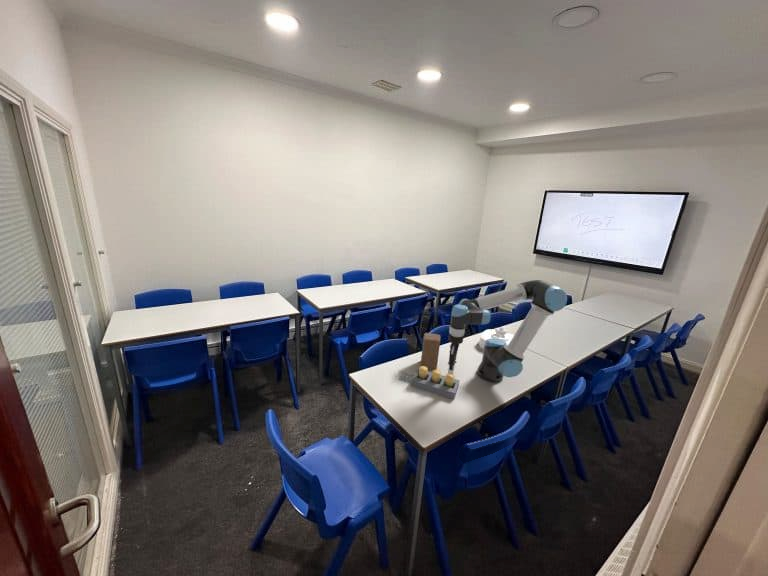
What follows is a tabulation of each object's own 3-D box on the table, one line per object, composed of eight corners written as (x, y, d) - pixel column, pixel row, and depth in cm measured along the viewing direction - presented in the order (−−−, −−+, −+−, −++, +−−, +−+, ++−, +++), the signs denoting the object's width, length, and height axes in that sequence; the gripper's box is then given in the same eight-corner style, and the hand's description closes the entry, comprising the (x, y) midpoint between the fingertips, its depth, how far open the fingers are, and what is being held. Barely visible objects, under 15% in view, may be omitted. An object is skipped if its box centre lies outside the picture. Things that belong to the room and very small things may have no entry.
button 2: (440, 378, 167) (441, 371, 165) (438, 383, 162) (439, 375, 161) (432, 376, 168) (433, 368, 167) (430, 380, 164) (431, 372, 163)
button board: (458, 386, 168) (459, 380, 167) (454, 399, 156) (455, 393, 155) (417, 374, 177) (418, 368, 176) (410, 386, 165) (411, 380, 164)
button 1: (454, 382, 164) (455, 374, 162) (452, 387, 160) (453, 379, 158) (445, 380, 165) (447, 372, 164) (444, 384, 161) (445, 376, 160)
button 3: (427, 375, 169) (428, 367, 168) (425, 379, 165) (426, 371, 164) (420, 372, 171) (420, 365, 170) (417, 376, 167) (418, 369, 165)
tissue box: (487, 335, 234) (490, 317, 229) (520, 346, 220) (524, 326, 215) (475, 347, 215) (478, 326, 210) (511, 359, 201) (516, 338, 196)
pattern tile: (414, 376, 174) (414, 375, 174) (410, 382, 168) (410, 381, 168) (403, 373, 177) (403, 372, 177) (399, 379, 171) (399, 378, 171)
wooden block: (436, 371, 182) (440, 341, 176) (420, 368, 183) (423, 338, 177) (437, 362, 191) (440, 334, 185) (421, 360, 193) (424, 331, 187)
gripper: (451, 328, 161) (446, 366, 168) (446, 337, 149) (440, 378, 156) (465, 331, 158) (459, 369, 165) (461, 341, 147) (455, 382, 154)
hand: (450, 373), depth 161 cm, fingers closed
